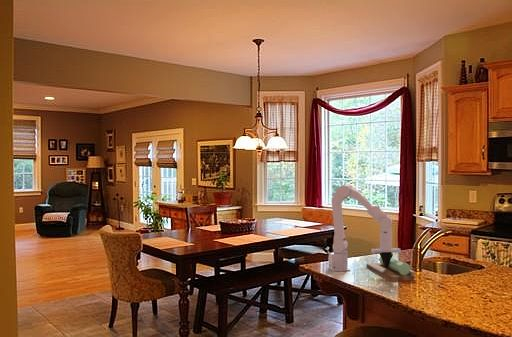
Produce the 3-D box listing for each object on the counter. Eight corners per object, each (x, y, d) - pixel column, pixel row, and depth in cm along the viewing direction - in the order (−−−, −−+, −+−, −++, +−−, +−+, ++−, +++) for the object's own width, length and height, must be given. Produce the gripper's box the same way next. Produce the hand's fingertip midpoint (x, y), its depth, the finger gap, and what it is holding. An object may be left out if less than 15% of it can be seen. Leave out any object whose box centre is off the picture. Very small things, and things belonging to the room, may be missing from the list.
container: (381, 251, 236) (403, 260, 211) (389, 258, 237) (412, 267, 212) (374, 260, 235) (396, 270, 211) (383, 266, 236) (405, 277, 211)
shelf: (390, 281, 209) (390, 272, 209) (366, 267, 236) (366, 259, 236) (414, 280, 210) (414, 271, 210) (388, 266, 238) (387, 259, 238)
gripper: (375, 242, 218) (375, 269, 218) (403, 241, 220) (403, 268, 220) (369, 239, 225) (369, 266, 225) (396, 238, 227) (396, 265, 227)
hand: (386, 267), depth 223 cm, fingers closed
